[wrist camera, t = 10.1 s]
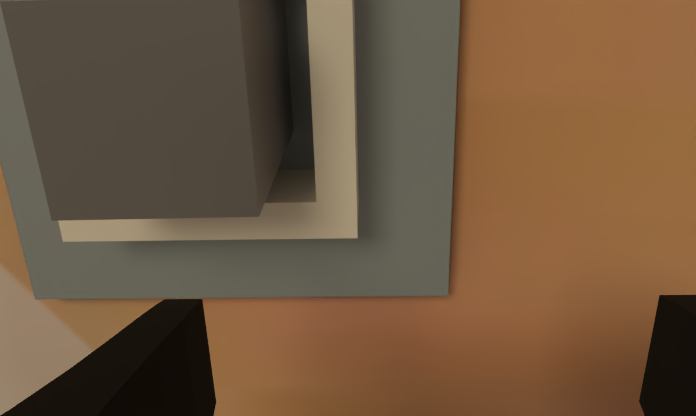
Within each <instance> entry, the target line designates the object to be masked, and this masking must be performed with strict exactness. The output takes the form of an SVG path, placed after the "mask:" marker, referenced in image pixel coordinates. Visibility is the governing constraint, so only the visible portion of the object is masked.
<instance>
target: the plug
mask: <svg viewBox="0 0 696 416" xmlns="http://www.w3.org/2000/svg"><path fill="white" fill-rule="evenodd" d="M0 4H1V9H2V13H3V17H4V21H5V26H6V30H7V34H8V38H9V43H10V47H11V51H12V55H13V59H14V64H15V68H16V72H17V76H18V81H19V85H20V89H21V93H22V97H23V102H24V106H25V110H26V114H27V119H28V123H29V127H30V131H31V136H32V140H33V144H34V148H35V152H36V157H37V161H38V165H39V169H40V174H41V178H42V182H43V186H44V191H45V195H46V199H47V203H48V207H49V212H50V216H51V220H52V221H62V220H116V219H170V218H223V217H259V216H260V213H261V211H262V208H263V206H264V203H265V201H266V198H267V196H268V193H269V191H270V188H271V186H272V183H273V181H274V178H275V176H276V173H277V171H278V168H279V166H280V163H281V161H282V158H283V156H284V153H285V151H286V148H287V146H288V143H289V141H290V138H291V136H292V133H293V117H292V102H291V87H290V73H289V58H288V43H287V28H286V14H285V0H6V1H0Z"/></svg>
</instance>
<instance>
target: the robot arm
mask: <svg viewBox="0 0 696 416" xmlns="http://www.w3.org/2000/svg"><path fill="white" fill-rule="evenodd" d="M639 402H640V404H641V407H642V409H643V412H644V415H645V416H696V295H660V296H659V301H658V306H657V312H656V317H655V322H654V327H653V332H652V338H651V343H650V348H649V353H648V358H647V364H646V369H645V374H644V379H643V384H642V389H641V395H640V400H639ZM215 405H216V398H215V391H214V383H213V376H212V368H211V361H210V353H209V346H208V339H207V331H206V324H205V316H204V309H203V302H202V299H165V300H163V301H162V302H160V303H158V304H157V305H155V306H154V307H153V308H151V309H150V310H148V311H147V312H146V313H144V314H143V315H141V316H140V317H139V318H137V319H136V320H135V321H133V322H132V323H131V324H129V325H128V326H127V327H125V328H124V329H123V330H122V331H120V332H119V333H118V334H116V335H115V336H114V337H112V338H111V339H110V340H108V341H107V342H106V343H104V344H103V345H102V346H100V347H99V348H97V349H96V350H95V351H93V352H92V353H91V354H89V355H88V356H87V357H85V358H84V359H83V360H81V361H80V362H79V363H77V364H76V365H75V366H73V367H72V368H70V369H69V370H68V371H66V372H65V373H63V374H62V375H60V376H59V377H57V378H56V379H54V380H53V381H51V382H50V383H48V384H47V385H45V386H44V387H43V388H41V389H40V390H38V391H37V392H35V393H34V394H32V395H31V396H30V397H28V398H27V399H25V400H23V401H22V402H20V403H19V404H18V405H16V406H15V407H13V408H12V409H10V410H9V411H7V412H5V413H4V414H2V415H1V416H213V415H214V410H215Z"/></svg>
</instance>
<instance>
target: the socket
mask: <svg viewBox="0 0 696 416" xmlns="http://www.w3.org/2000/svg"><path fill="white" fill-rule="evenodd" d="M0 1H6V0H0ZM285 14H286V28H287V43H288V58H289V73H290V87H291V102H292V117H293V133H292V136H291V138H290V141H289V143H288V146H287V148H286V151H285V153H284V156H283V158H282V161H281V163H280V166H279V168H278V171H277V173H276V176H275V178H274V181H273V183H272V186H271V188H270V191H269V193H268V196H267V198H266V201H265V203H264V206H263V208H262V211H261V213H260V216H259V217H223V218H170V219H116V220H62V221H52V220H51V216H50V212H49V207H48V203H47V199H46V195H45V191H44V186H43V182H42V178H41V174H40V169H39V165H38V161H37V157H36V152H35V148H34V144H33V140H32V136H31V131H30V127H29V123H28V119H27V114H26V110H25V106H24V102H23V97H22V93H21V89H20V85H19V81H18V76H17V72H16V68H15V64H14V59H13V55H12V51H11V47H10V43H9V38H8V34H7V30H6V26H5V21H4V17H3V13H2V9H1V4H0V163H1V167H2V171H3V175H4V179H5V183H6V187H7V190H8V194H9V198H10V202H11V206H12V210H13V214H14V218H15V222H16V226H17V230H18V234H19V238H20V241H21V245H22V249H23V253H24V257H25V261H26V265H27V269H28V273H29V277H30V281H31V285H32V289H33V293H34V296H35V299H142V298H260V297H377V296H448V286H449V262H450V238H451V214H452V190H453V166H454V142H455V117H456V93H457V69H458V45H459V21H460V0H285Z"/></svg>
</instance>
